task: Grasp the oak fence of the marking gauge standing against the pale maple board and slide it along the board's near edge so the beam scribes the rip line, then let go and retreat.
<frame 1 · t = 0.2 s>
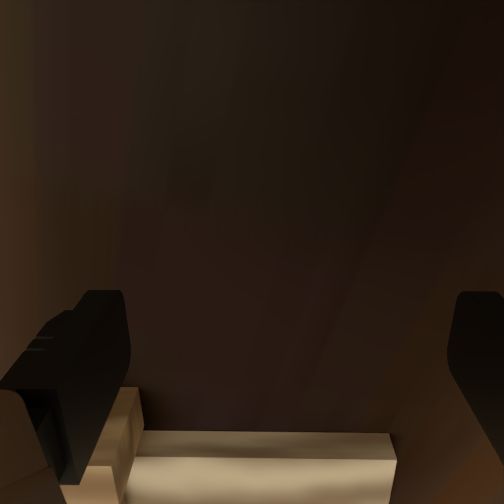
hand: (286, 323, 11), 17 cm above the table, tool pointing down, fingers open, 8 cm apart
gauge: (109, 406, 36), on the table
board: (215, 473, 39), on the table
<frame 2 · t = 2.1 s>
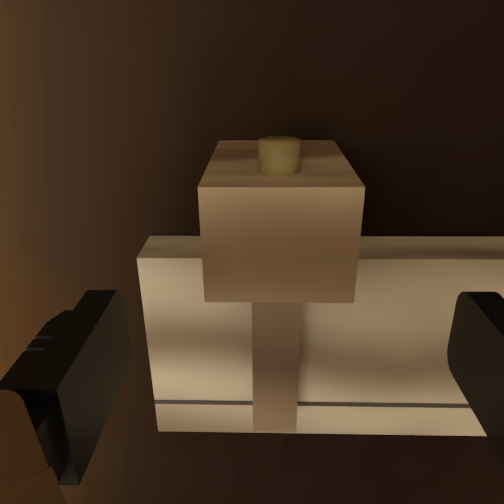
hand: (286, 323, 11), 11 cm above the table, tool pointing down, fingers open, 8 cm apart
gauge: (275, 184, 21), on the table
board: (428, 325, 24), on the table
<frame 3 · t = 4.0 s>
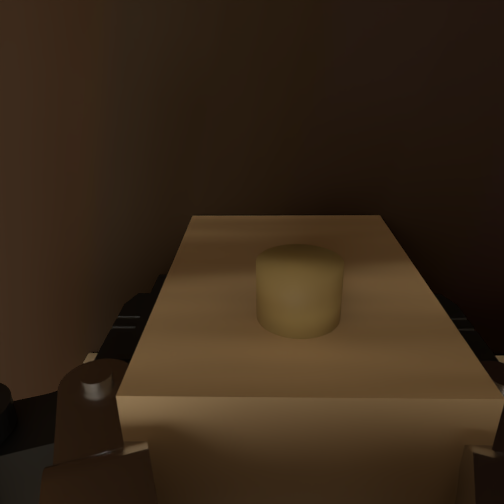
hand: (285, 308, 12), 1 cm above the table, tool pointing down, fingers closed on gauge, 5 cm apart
gauge: (284, 281, 13), on the table, touching gripper
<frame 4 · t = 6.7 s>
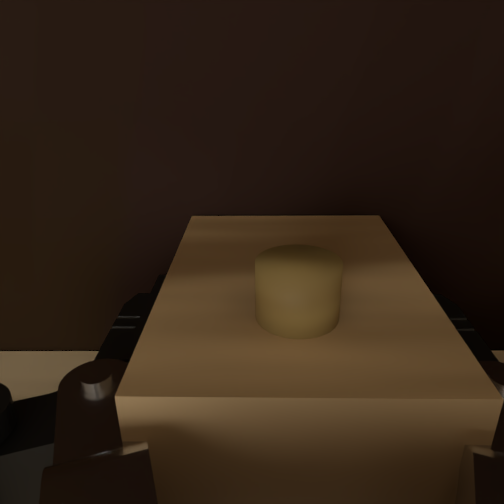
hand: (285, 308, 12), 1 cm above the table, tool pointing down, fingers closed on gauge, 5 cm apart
gauge: (283, 281, 13), on the table, touching gripper
board: (242, 467, 16), on the table
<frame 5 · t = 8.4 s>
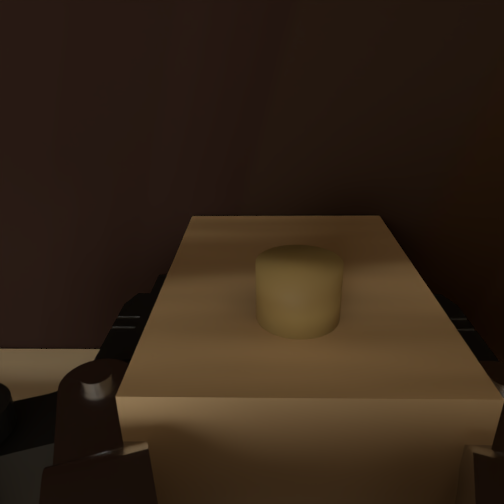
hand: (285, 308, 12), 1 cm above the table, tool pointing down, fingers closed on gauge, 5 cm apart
gauge: (284, 282, 13), on the table, touching gripper
board: (40, 464, 16), on the table
when the fingers open (1 cm above the table, at t = 9.6 s): gauge stays where it is, on the table.
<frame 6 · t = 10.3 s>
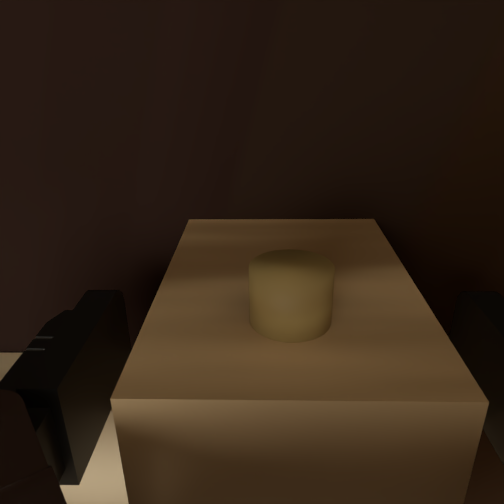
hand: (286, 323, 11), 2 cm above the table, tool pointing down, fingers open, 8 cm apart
gauge: (280, 284, 13), on the table
board: (29, 467, 16), on the table
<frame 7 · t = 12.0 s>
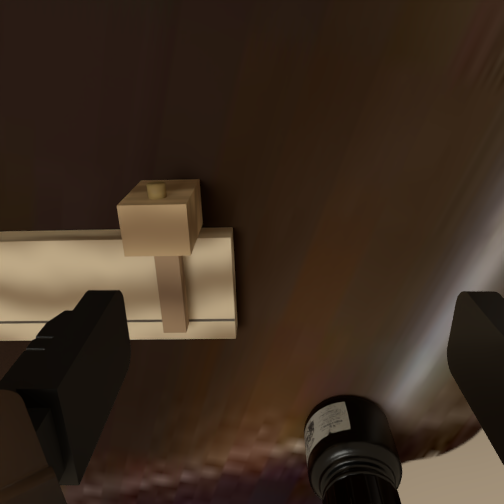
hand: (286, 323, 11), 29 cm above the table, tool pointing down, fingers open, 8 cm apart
ink bottle: (344, 424, 50), on the table
gauge: (172, 202, 40), on the table
board: (86, 279, 43), on the table
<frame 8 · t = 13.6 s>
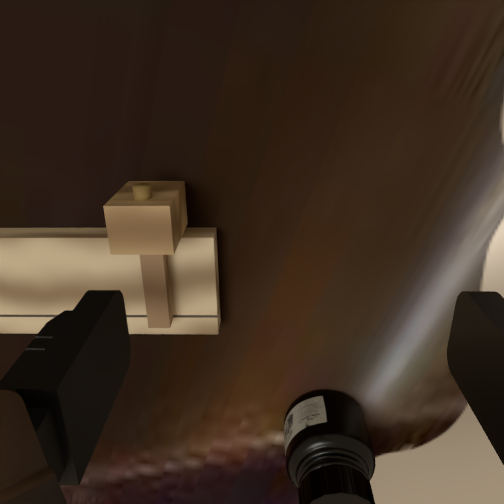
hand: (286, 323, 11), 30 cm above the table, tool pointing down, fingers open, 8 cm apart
ink bottle: (323, 418, 52), on the table
gauge: (158, 202, 42), on the table
board: (75, 275, 45), on the table
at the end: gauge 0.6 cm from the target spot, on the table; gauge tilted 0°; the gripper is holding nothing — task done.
